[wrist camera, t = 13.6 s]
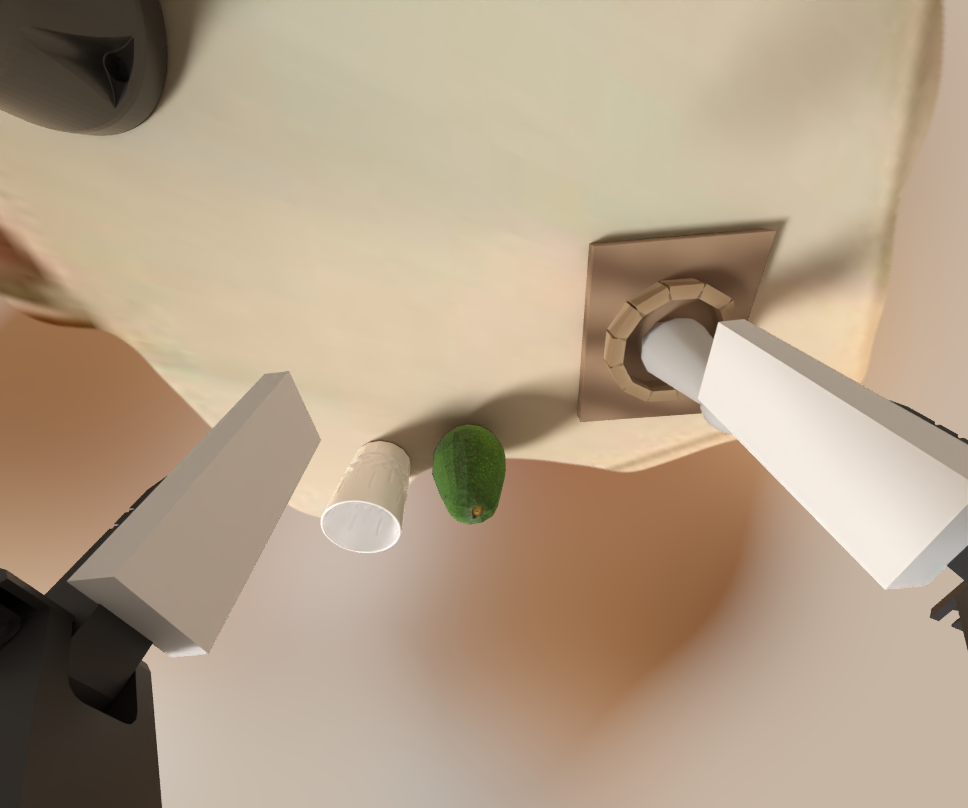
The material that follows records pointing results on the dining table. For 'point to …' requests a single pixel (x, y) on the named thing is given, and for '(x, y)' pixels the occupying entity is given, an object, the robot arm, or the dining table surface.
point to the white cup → (369, 500)
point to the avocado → (469, 472)
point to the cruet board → (658, 312)
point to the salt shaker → (680, 358)
